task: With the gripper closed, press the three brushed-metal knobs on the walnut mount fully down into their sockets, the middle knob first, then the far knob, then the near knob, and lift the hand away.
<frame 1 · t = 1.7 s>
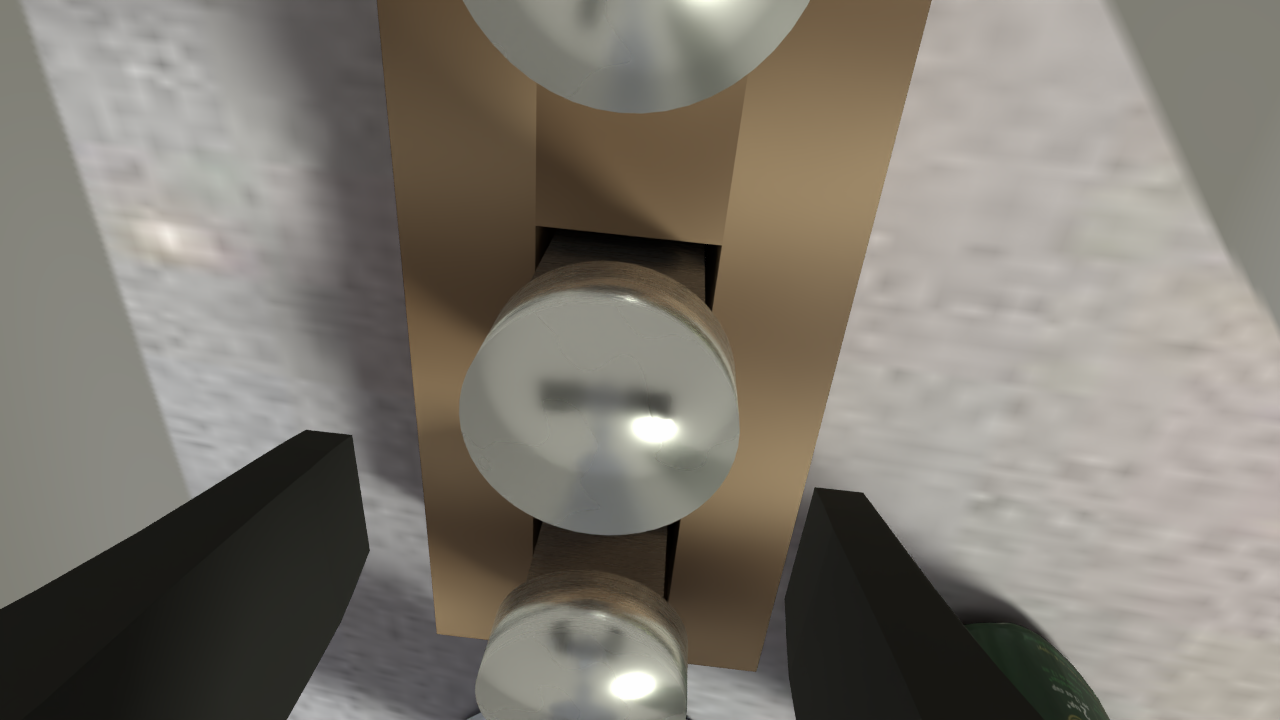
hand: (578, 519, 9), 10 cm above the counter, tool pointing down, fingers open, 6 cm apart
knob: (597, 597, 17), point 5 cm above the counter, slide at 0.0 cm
middle knob: (616, 344, 13), point 5 cm above the counter, slide at 0.0 cm
coffee jar: (965, 694, 26), on the counter
walnut mount: (637, 248, 18), on the counter
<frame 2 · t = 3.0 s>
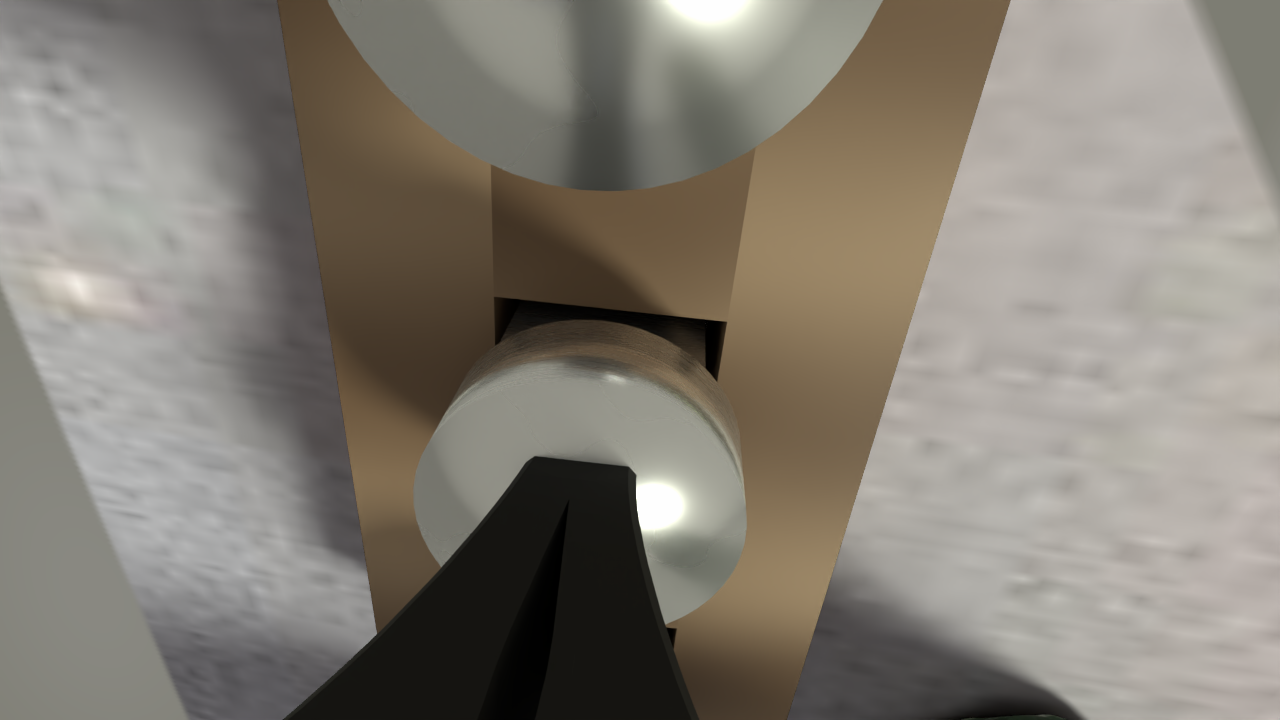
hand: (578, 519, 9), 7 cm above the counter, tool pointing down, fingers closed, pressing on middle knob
middle knob: (603, 405, 12), point 4 cm above the counter, slide at 1.1 cm, touching gripper
walnut mount: (625, 303, 15), on the counter
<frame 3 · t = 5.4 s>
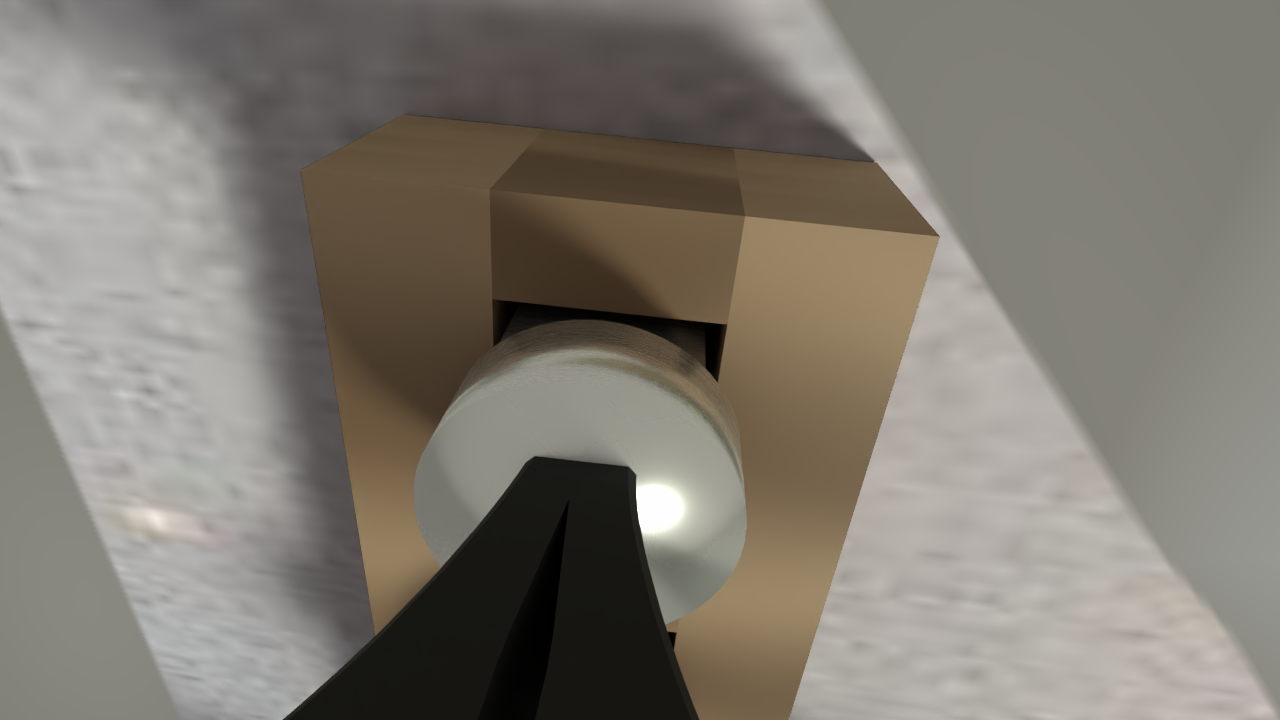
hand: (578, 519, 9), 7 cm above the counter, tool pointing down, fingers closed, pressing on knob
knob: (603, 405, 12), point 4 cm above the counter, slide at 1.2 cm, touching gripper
walnut mount: (605, 543, 19), on the counter
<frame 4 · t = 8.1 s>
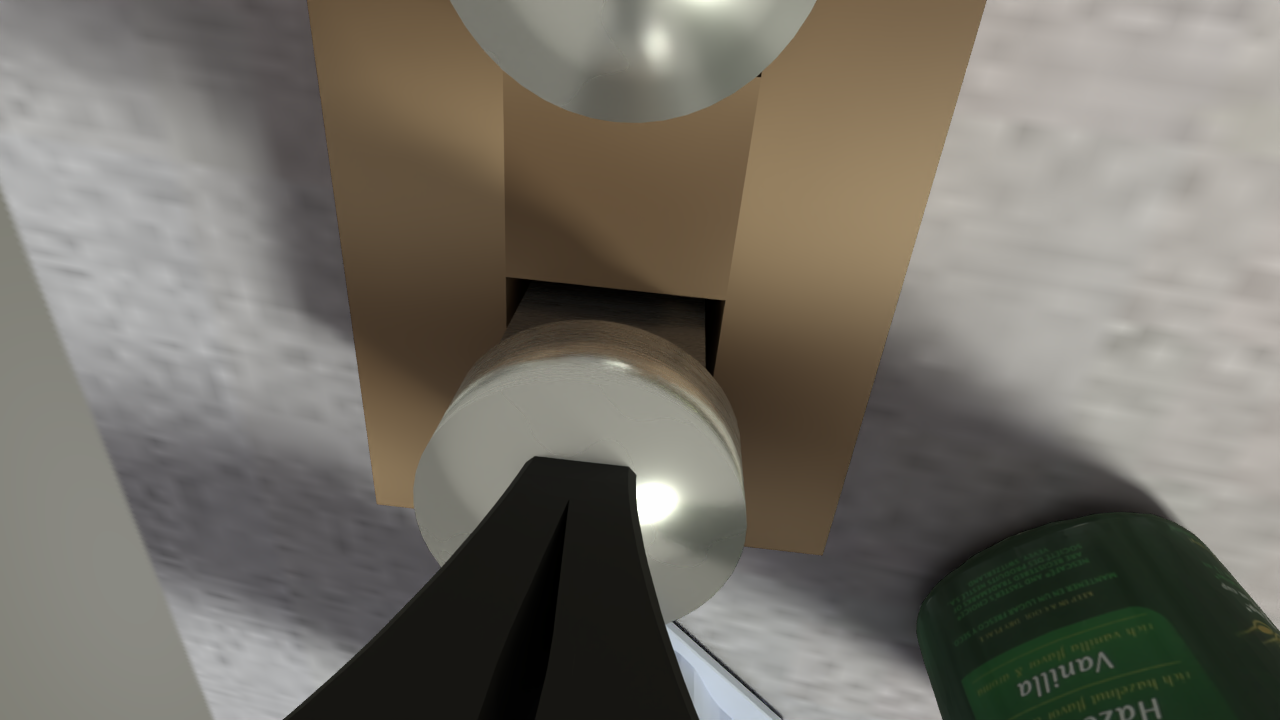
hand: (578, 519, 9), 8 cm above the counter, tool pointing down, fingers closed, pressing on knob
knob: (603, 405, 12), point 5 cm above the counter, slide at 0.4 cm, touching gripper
coffee jar: (1069, 621, 20), on the counter
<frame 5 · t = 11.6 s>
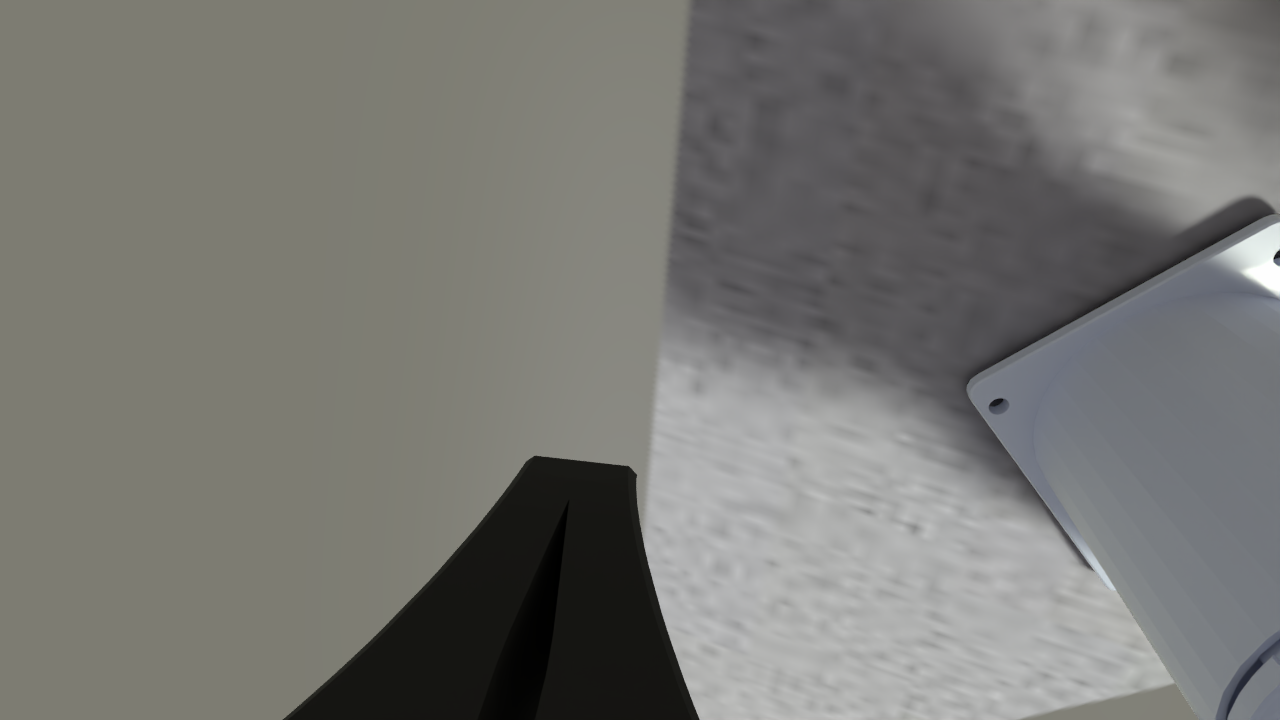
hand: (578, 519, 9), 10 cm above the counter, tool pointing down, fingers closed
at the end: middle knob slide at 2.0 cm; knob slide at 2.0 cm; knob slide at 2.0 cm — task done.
